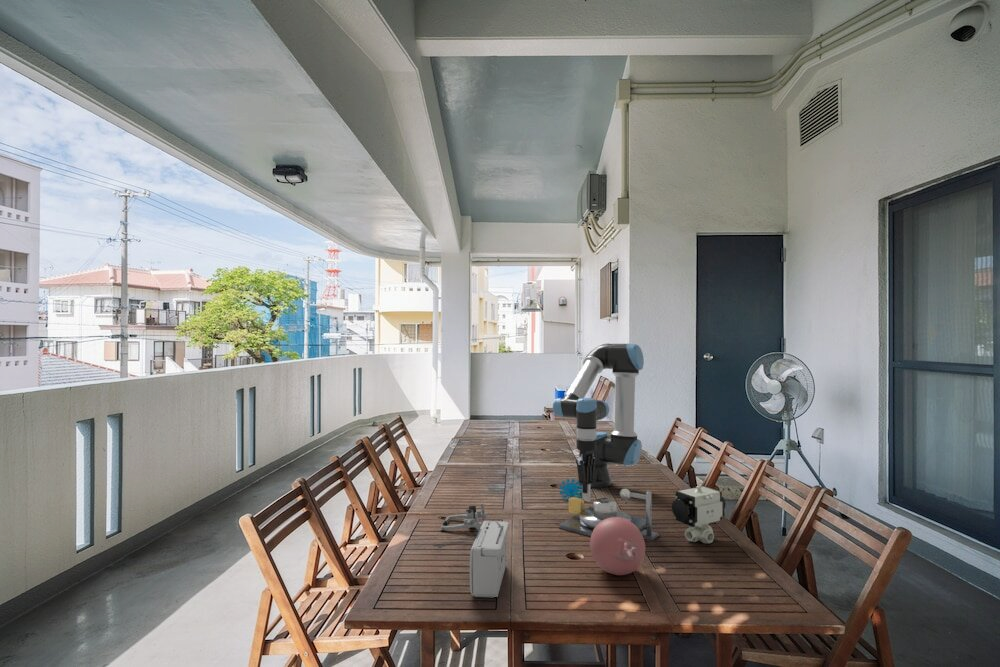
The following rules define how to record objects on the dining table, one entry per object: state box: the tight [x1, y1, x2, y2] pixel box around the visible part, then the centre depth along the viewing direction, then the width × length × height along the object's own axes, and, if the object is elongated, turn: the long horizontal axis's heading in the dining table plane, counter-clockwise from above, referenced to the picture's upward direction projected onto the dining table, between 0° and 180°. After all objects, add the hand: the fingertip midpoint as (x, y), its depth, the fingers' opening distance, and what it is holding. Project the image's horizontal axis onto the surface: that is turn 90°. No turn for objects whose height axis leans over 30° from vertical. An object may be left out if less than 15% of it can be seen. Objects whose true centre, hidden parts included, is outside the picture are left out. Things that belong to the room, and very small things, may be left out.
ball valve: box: [671, 485, 726, 544], centre depth 168 cm, size 18×8×18 cm, turn 117°
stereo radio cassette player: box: [469, 519, 510, 598], centre depth 140 cm, size 21×8×20 cm, turn 173°
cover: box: [593, 497, 617, 519], centre depth 182 cm, size 8×8×6 cm
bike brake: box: [439, 503, 488, 532], centre depth 181 cm, size 14×7×20 cm
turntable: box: [568, 496, 631, 529], centre depth 183 cm, size 18×23×6 cm
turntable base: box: [558, 506, 646, 537], centre depth 181 cm, size 24×24×1 cm
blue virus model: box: [558, 478, 582, 502], centre depth 213 cm, size 11×6×10 cm
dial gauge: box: [619, 488, 659, 541], centre depth 174 cm, size 5×12×15 cm, turn 53°
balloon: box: [589, 517, 646, 576], centre depth 143 cm, size 15×20×15 cm
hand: (586, 500), depth 193 cm, fingers closed
